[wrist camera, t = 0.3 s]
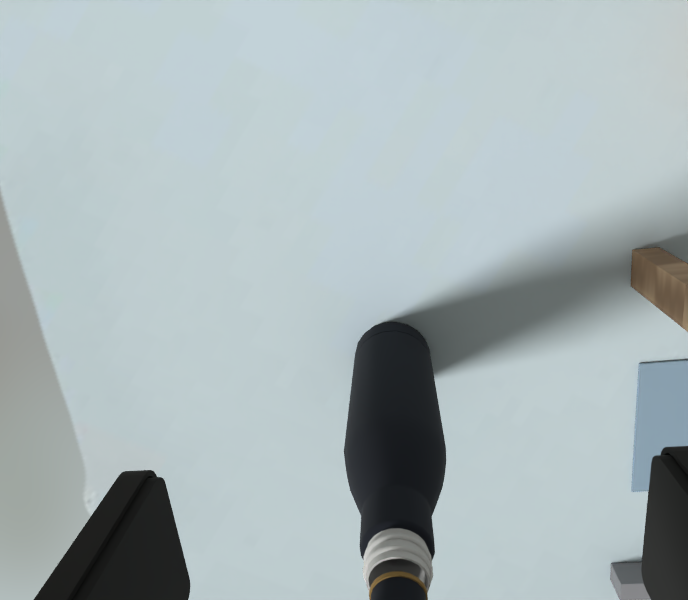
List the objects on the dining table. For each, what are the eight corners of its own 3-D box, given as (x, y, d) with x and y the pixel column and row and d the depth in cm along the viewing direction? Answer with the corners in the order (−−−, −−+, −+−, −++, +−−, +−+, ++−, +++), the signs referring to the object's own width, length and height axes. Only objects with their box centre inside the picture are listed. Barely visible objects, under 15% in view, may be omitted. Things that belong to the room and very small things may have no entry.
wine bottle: (388, 306, 48) (392, 617, 20) (445, 352, 49) (526, 709, 21) (340, 358, 50) (281, 708, 22) (395, 401, 51) (408, 788, 23)
